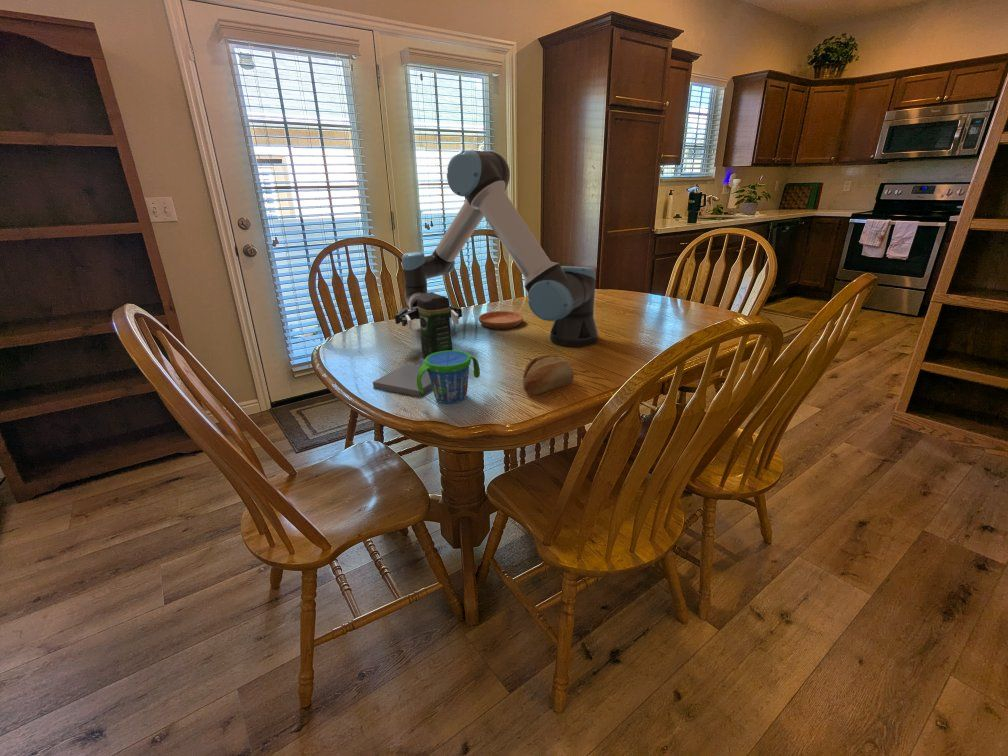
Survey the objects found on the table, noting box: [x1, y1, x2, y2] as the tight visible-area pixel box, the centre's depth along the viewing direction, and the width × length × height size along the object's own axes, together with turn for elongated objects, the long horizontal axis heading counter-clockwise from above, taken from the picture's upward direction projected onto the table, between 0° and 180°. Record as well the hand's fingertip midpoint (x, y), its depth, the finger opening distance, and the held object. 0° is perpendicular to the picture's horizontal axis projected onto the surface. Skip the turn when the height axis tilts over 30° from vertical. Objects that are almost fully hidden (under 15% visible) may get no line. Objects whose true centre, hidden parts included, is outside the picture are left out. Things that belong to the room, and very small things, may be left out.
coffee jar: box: [418, 291, 454, 358], centre depth 135 cm, size 10×8×19 cm
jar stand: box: [372, 363, 433, 397], centre depth 120 cm, size 14×14×2 cm
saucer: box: [478, 310, 524, 330], centre depth 169 cm, size 16×16×3 cm
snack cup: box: [417, 349, 481, 404], centre depth 109 cm, size 16×10×10 cm
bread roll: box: [522, 354, 575, 396], centre depth 114 cm, size 10×15×8 cm, turn 132°
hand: (434, 322), depth 134 cm, fingers open, 13 cm apart
